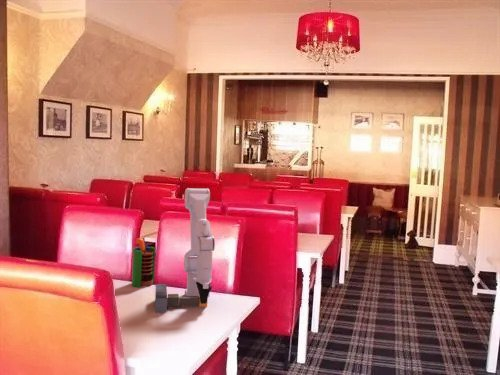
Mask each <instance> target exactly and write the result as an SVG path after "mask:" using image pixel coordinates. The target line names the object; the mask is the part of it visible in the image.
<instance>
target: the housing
mask: <svg viewBox="0 0 500 375" xmlns="http://www.w3.org/2000/svg"><path fill="white" fill-rule="evenodd" d="M167 291H168V290H167V284H161V283H160V284H155V294H154V295H155V296H154V298H155V299H154V300H155V302H154V303H155V313H167V309H168V303H167V298H168V292H167Z"/></svg>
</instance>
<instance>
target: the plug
mask: <svg viewBox="0 0 500 375" xmlns="http://www.w3.org/2000/svg"><path fill="white" fill-rule="evenodd" d="M181 307H200V308H201V307H204V308H205V307H208V302H207V303H206V304H201V302H200V294H199V296H179V293H167V309H175V308H176V309H179V308H181Z"/></svg>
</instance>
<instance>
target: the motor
mask: <svg viewBox="0 0 500 375" xmlns="http://www.w3.org/2000/svg"><path fill="white" fill-rule="evenodd" d="M135 244H136V245H137V244H139V246H136V247H134V248H132V268H131V269H132V271H131V273H132V274H131V286H132V287H136V288H141V286H147V287H151V286H153V283H154V282H155V281H154V280H155V265H156V264H155V263H156V260H155V259H156V247H154V246H146V244H145V241H144V238H139V237H138V238H136V239H135Z"/></svg>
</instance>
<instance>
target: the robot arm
mask: <svg viewBox="0 0 500 375" xmlns="http://www.w3.org/2000/svg"><path fill="white" fill-rule="evenodd" d="M210 200H211V192H210V188H208V187H207V188H193V187H192V188H191V187H190V188H189V187H187V188H186V189H185V191H184V206H185V209H187V210H188V211H189V218H190V219H189V220H190V223H189V224H190V249H189V250H188V251H187V252H185V255H184V257H183V259H184V261H183V267H184V268H183V269H184V272H185V273H187V275H186V276H187V277H186V278H187V279H186V280H187V281H186V289H185V291H184V292H185V297H199V294H200V302H201V304H206V303H207V304H208V299H209V297H210V292H211V290H212V288H213V287H212V285H211V282H212V281H213V278H212V275H213V274H212V273H213V272H212V271H213V252H214V251H215V249H216V248H215V246H216V243H215V237H214V234H213V233H212V230H211V229H212V228H211V223H210V221H209V220H208V219H207V207H208V205H209V203H210Z"/></svg>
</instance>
